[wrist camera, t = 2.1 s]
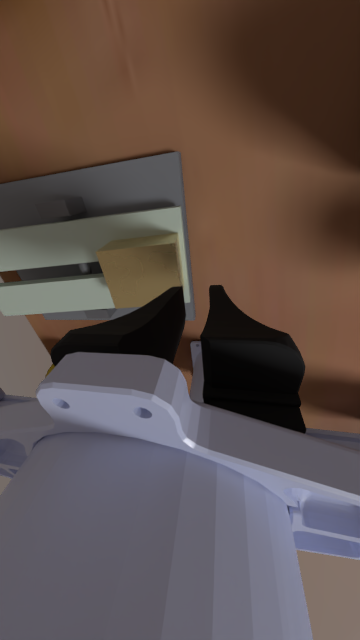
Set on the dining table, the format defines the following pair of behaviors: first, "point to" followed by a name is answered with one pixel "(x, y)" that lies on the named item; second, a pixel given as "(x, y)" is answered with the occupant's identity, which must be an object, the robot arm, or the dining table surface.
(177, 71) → the dining table surface
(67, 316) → the pivot stand
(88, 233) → the beam
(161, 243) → the tan block
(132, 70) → the dining table surface
